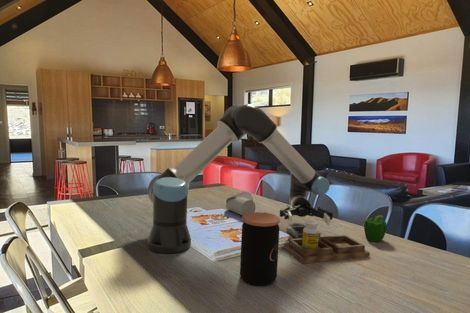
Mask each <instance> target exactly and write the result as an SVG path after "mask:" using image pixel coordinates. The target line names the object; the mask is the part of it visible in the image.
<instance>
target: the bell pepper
mask: <svg viewBox="0 0 470 313" xmlns="http://www.w3.org/2000/svg"><path fill="white" fill-rule="evenodd" d="M380 218H381V219H380ZM383 218H384V216H383V215H377V216H375V218H374V219H373V218H371V217H370V218H368V219H367V218H366V219H365V220H364V222H363V230H364V235H365V237H366V239H368V240H370V241H371V242H377V243H378V242H380V241H382V240H383V239H384V238H385V235H386V232H387V229H388V227H387V226H388V224H387V221H384V220H383Z"/></svg>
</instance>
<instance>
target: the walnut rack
mask: <svg viewBox="0 0 470 313" xmlns="http://www.w3.org/2000/svg"><path fill="white" fill-rule="evenodd" d="M302 242H303V238H299V239H296V238H289V239H288V242H284V243H283V248H284V249H285V250H286V251H287V252H289V253H290V254H291V255H292V256H294V257H295V258H296V259H297V260H298V261H300V263H301V264H313V263H322V262H331V261H341V260H342V261H343V260H352V259H362V258H369V257H370V254H371V253H370V252H369V251H368V250H366V245H365V244H363V243H362V242H359V241H357V240H355V239H354V238H352V237H350V236H348V235H347V234H341V235H339V234H338V235H327V236H326V235H325V236H320V238H318V249H307V250H305V249H304V248H302ZM368 256H369V257H368ZM361 257H362V258H361Z"/></svg>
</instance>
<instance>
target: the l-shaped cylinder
mask: <svg viewBox="0 0 470 313" xmlns="http://www.w3.org/2000/svg"><path fill="white" fill-rule="evenodd" d="M225 202H226V204H225V208H226V210H228V211H231V212H233V213H235V214H237V215H239V214H240V215H239V216H241V215H242V217H243V215H244V214H247V213H255V212H256V203H255V202H254V198H253V195H252V194H251V192H249V191H241V192H239V193H237V194H234V195H232V196H229V197H228V198H226V201H225Z"/></svg>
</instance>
